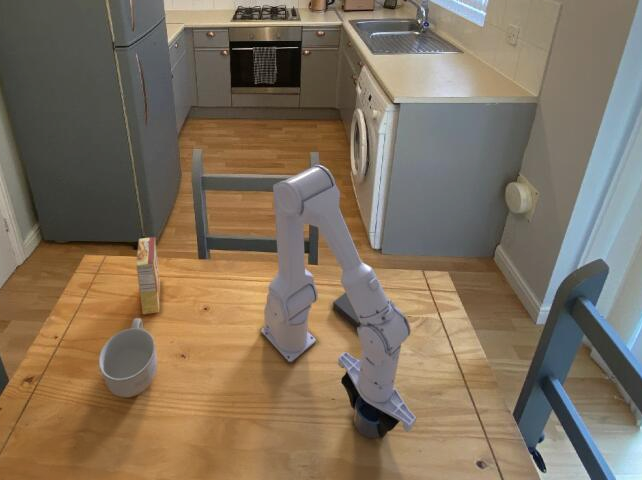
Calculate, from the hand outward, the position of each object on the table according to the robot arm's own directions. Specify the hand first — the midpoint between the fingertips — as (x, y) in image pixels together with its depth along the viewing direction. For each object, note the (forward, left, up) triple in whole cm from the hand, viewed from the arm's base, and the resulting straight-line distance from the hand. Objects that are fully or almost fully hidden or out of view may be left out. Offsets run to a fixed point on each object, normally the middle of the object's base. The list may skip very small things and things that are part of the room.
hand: (369, 418), depth 76 cm
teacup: (-36, -30, -2) cm, 47 cm away
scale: (-15, +19, -1) cm, 24 cm away
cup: (0, 0, -1) cm, 1 cm away
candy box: (-50, -18, -2) cm, 53 cm away
